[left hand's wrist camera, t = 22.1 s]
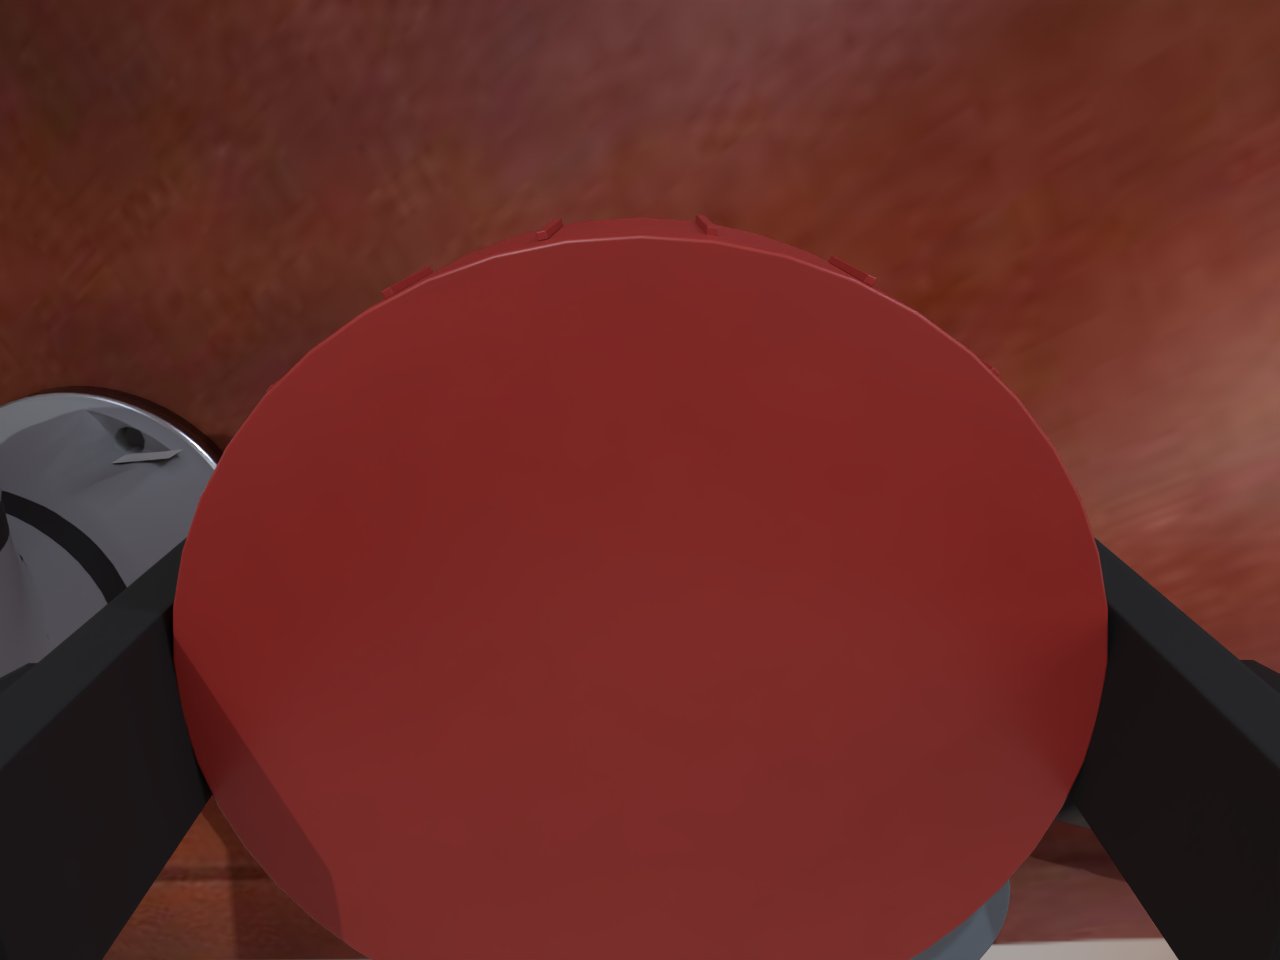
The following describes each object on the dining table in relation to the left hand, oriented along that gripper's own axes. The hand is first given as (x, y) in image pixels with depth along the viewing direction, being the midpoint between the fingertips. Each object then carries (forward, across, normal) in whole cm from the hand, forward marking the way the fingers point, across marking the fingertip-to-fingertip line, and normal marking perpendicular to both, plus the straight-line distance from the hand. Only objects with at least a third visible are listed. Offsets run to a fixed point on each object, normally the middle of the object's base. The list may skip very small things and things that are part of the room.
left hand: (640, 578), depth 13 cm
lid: (-3, 0, 0) cm, 3 cm away
